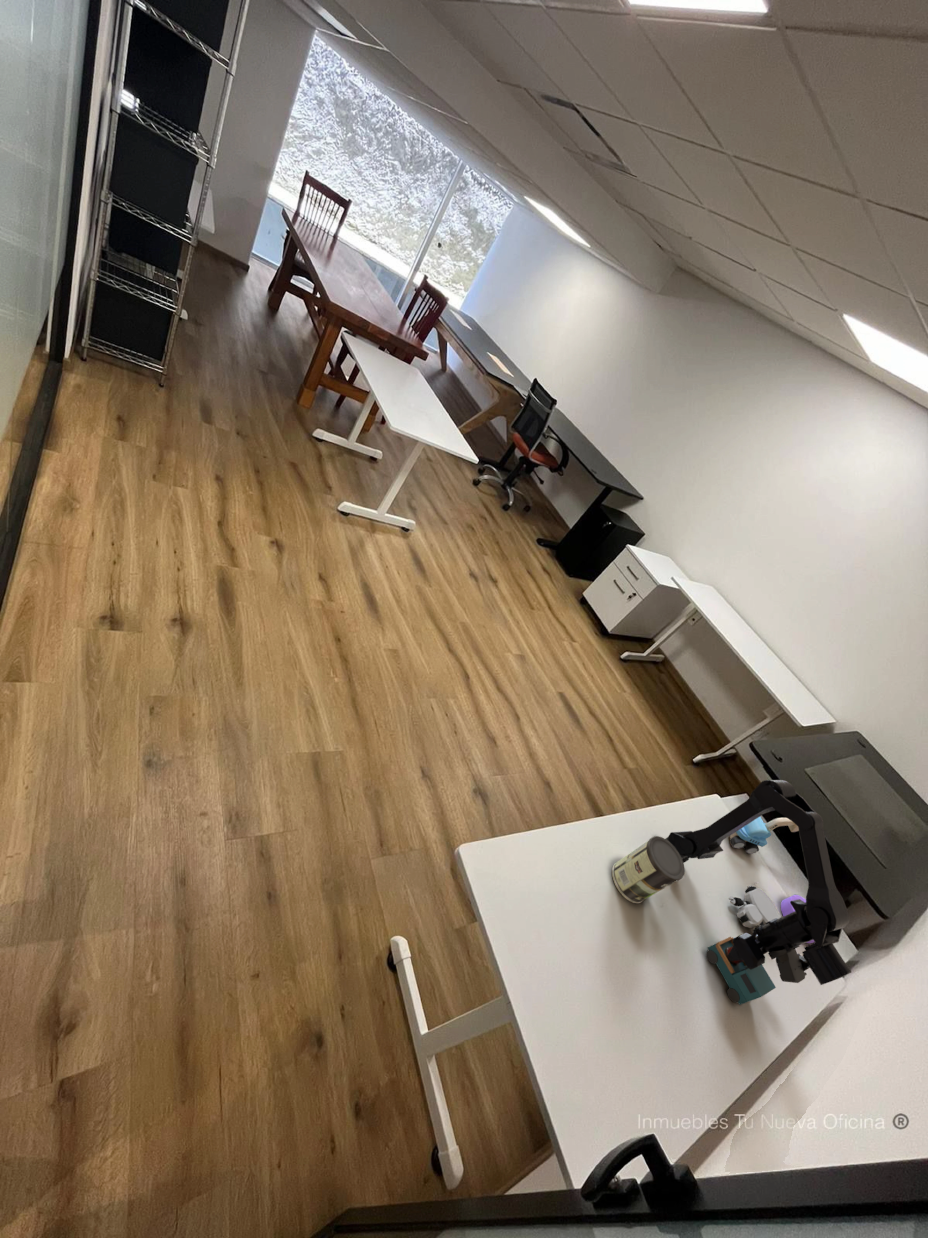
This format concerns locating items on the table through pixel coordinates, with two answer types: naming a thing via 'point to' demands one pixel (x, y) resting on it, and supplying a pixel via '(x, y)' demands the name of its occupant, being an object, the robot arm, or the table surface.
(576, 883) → the table surface
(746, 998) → the truck
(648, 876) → the coffee can
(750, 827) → the toy excavator
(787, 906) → the tape roll
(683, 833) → the robot arm
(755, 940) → the figure
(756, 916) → the robot toy
